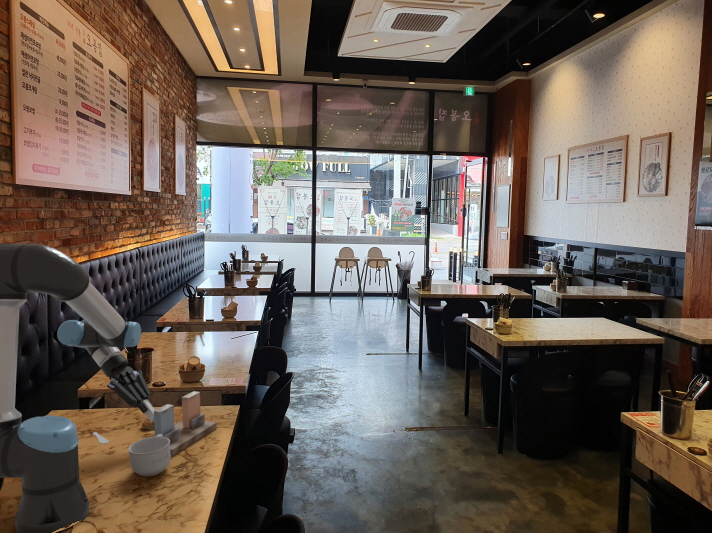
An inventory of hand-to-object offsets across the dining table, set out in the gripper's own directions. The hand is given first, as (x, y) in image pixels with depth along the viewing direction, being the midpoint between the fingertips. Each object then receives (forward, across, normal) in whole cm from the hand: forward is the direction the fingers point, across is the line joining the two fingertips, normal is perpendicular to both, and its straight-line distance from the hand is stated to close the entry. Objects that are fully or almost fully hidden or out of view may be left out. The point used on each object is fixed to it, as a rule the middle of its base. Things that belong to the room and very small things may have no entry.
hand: (155, 418), depth 164 cm
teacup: (+13, +12, +1) cm, 18 cm away
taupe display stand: (+9, -6, -3) cm, 11 cm away
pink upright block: (+7, -13, -2) cm, 15 cm away
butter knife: (-12, -1, -25) cm, 28 cm away
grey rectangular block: (+7, 0, -2) cm, 7 cm away
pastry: (-2, -13, -14) cm, 19 cm away
